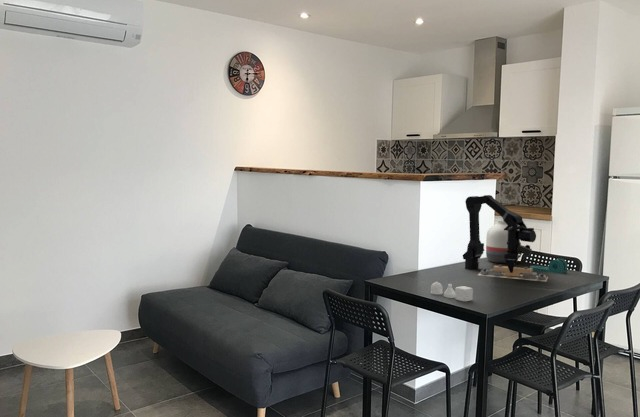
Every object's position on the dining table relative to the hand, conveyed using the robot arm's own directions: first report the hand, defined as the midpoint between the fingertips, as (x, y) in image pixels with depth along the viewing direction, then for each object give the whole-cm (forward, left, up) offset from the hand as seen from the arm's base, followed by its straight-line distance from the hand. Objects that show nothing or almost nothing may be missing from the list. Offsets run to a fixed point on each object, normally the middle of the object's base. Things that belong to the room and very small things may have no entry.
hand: (512, 271), depth 262 cm
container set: (-19, -52, -4) cm, 56 cm away
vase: (-12, +45, -4) cm, 47 cm away
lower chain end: (-10, 0, -3) cm, 10 cm away
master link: (0, 0, -2) cm, 2 cm away
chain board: (0, 0, -4) cm, 4 cm away
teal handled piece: (+14, +24, -4) cm, 28 cm away
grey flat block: (+10, 0, -2) cm, 10 cm away
